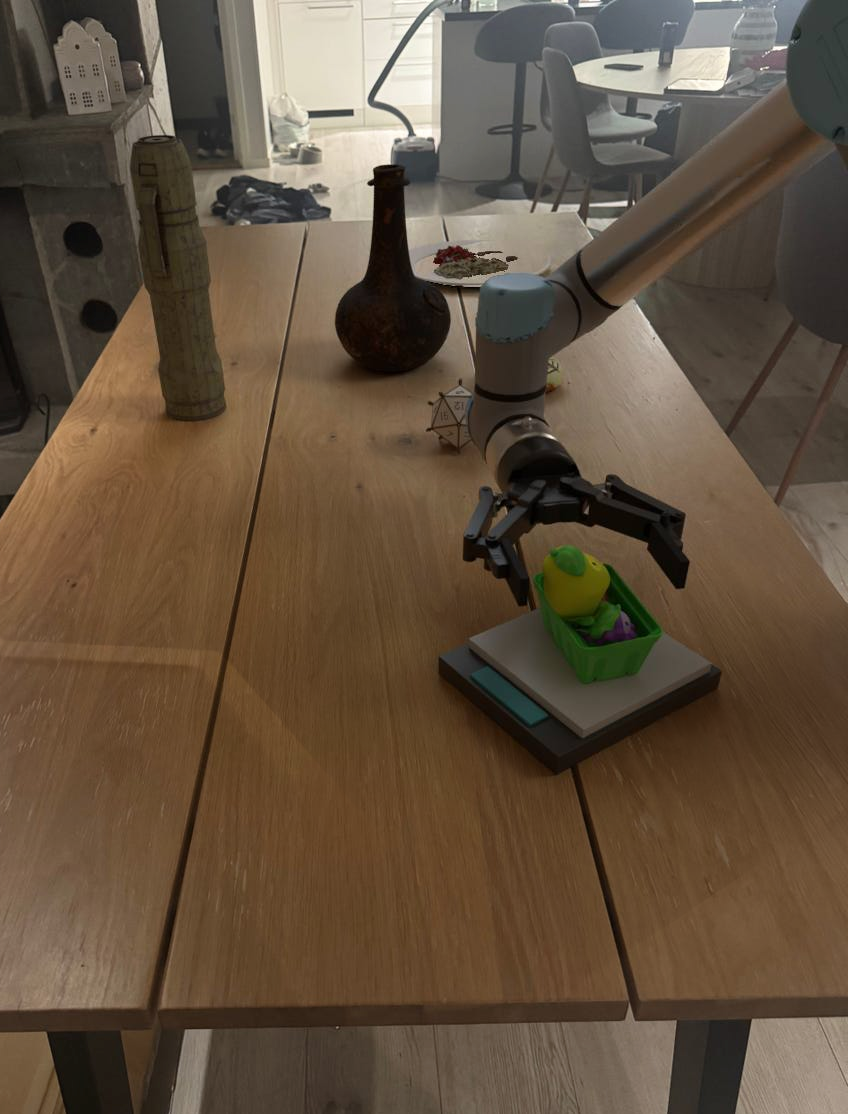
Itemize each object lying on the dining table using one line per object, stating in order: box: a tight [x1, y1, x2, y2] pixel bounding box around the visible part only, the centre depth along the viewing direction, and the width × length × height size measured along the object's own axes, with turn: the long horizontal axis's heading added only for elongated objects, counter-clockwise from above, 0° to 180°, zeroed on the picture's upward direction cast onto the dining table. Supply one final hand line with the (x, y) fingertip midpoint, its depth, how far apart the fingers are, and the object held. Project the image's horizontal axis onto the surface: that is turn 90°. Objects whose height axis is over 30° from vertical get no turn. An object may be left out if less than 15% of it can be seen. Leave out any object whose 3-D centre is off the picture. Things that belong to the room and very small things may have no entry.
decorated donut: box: [546, 356, 565, 393], centre depth 140 cm, size 10×11×4 cm
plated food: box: [409, 239, 552, 286], centre depth 187 cm, size 30×30×3 cm
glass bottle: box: [334, 163, 452, 373], centre depth 142 cm, size 18×18×28 cm
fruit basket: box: [532, 544, 664, 684], centre depth 82 cm, size 11×9×11 cm
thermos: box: [129, 134, 227, 421], centre depth 128 cm, size 9×12×35 cm
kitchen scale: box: [437, 606, 723, 776], centre depth 85 cm, size 16×19×3 cm
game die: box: [425, 377, 473, 456], centre depth 124 cm, size 9×8×10 cm
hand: (604, 584), depth 79 cm, fingers open, 13 cm apart
